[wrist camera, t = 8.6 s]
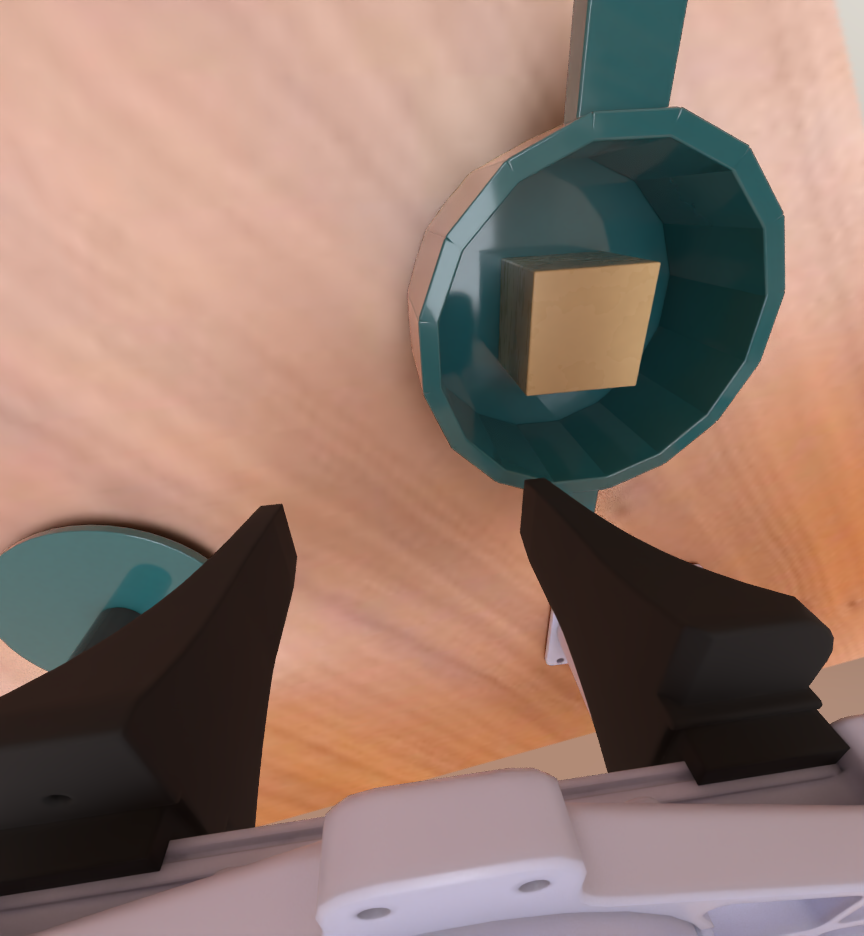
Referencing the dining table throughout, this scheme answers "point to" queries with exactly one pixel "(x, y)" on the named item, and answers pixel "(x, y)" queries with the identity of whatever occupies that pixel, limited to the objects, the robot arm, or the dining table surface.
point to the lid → (83, 587)
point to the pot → (610, 230)
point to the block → (574, 320)
